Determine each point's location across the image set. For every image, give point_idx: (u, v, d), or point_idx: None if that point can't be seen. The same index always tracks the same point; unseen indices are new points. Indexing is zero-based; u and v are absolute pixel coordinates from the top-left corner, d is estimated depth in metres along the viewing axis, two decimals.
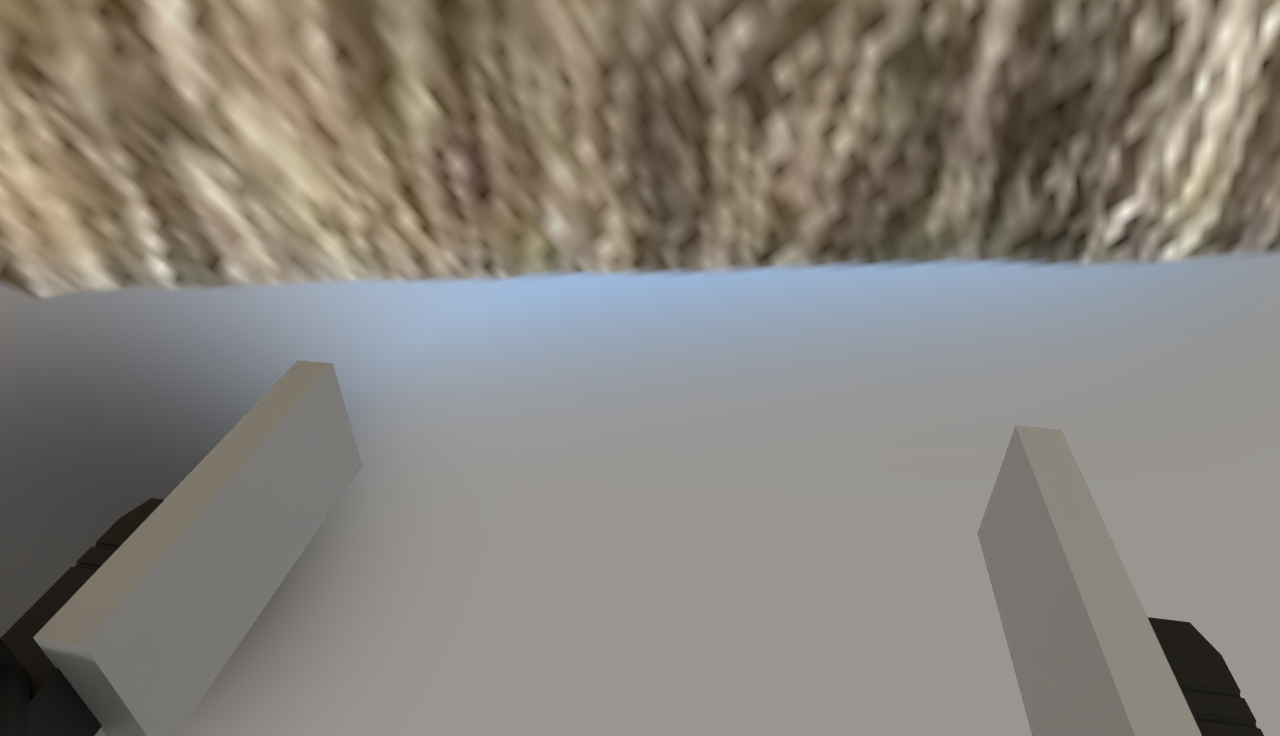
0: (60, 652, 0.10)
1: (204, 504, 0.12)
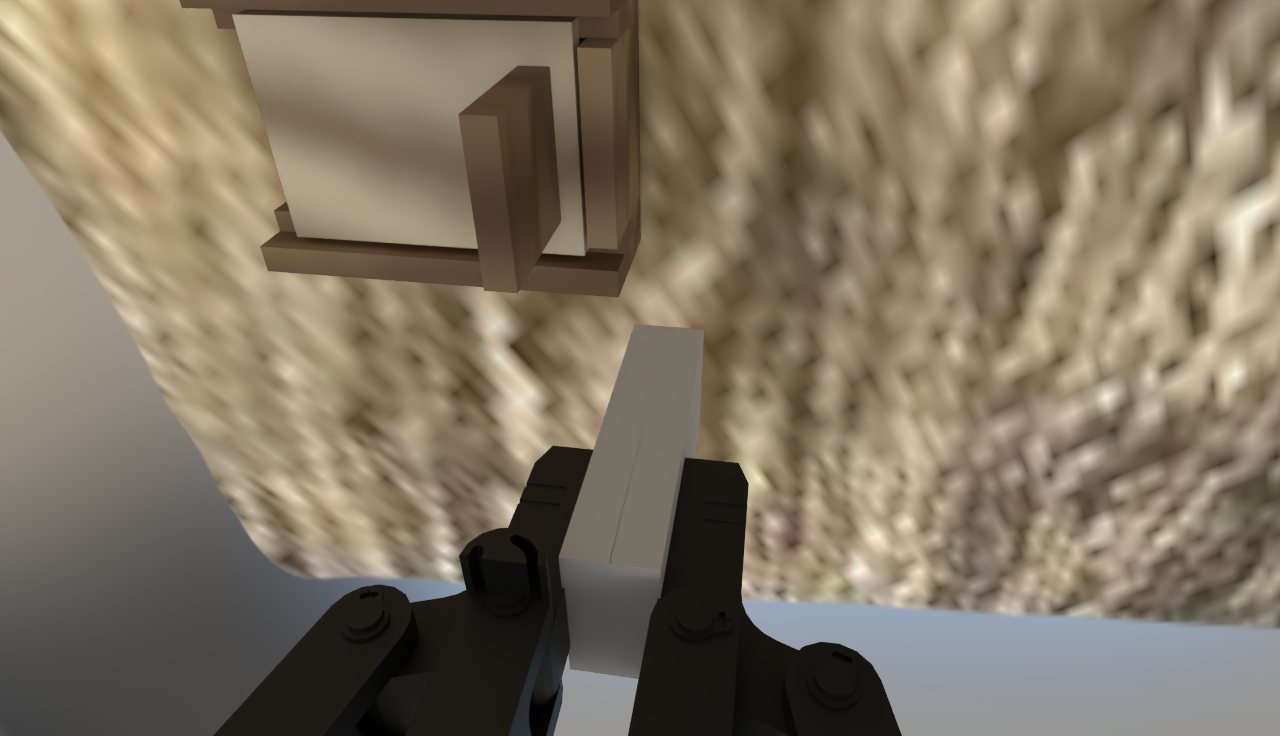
0: (578, 571, 0.11)
1: (634, 447, 0.13)
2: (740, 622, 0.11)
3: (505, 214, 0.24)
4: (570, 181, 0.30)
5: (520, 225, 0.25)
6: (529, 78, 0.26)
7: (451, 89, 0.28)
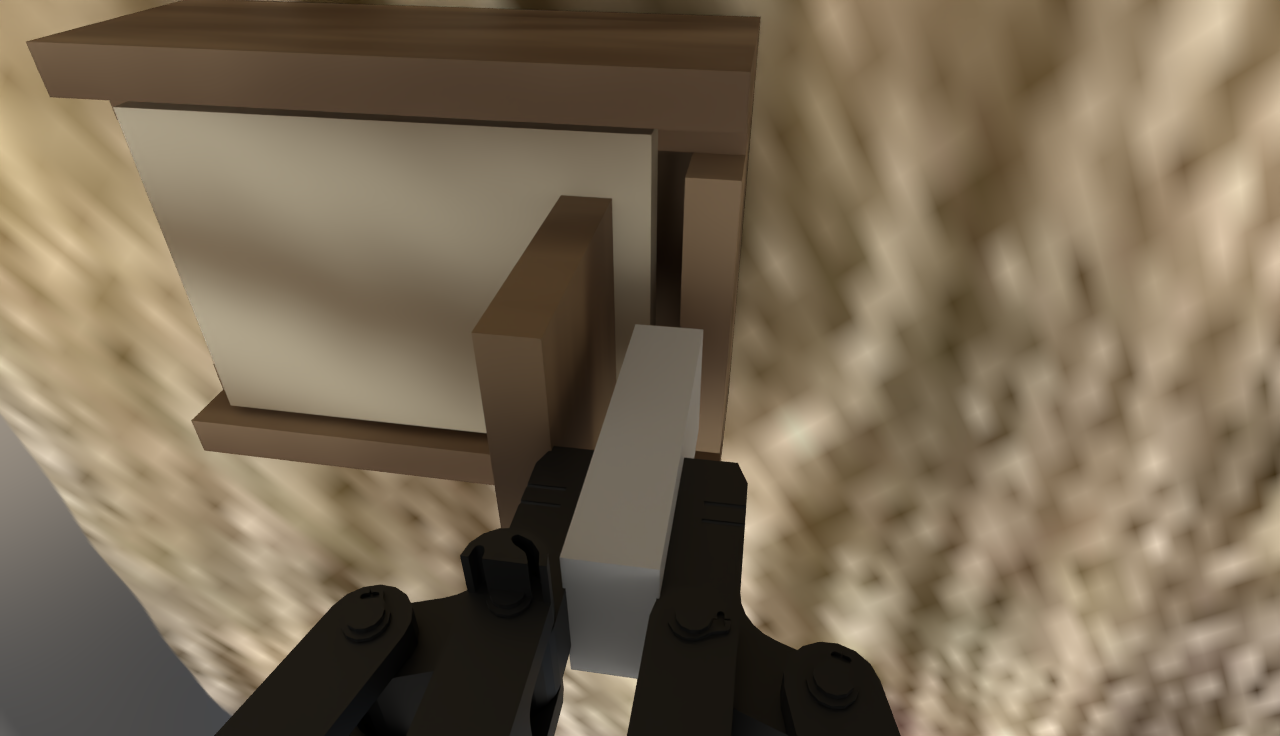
0: (579, 572, 0.11)
1: (635, 447, 0.13)
2: (739, 622, 0.11)
3: None
4: None
5: None
6: (584, 228, 0.16)
7: (455, 225, 0.18)
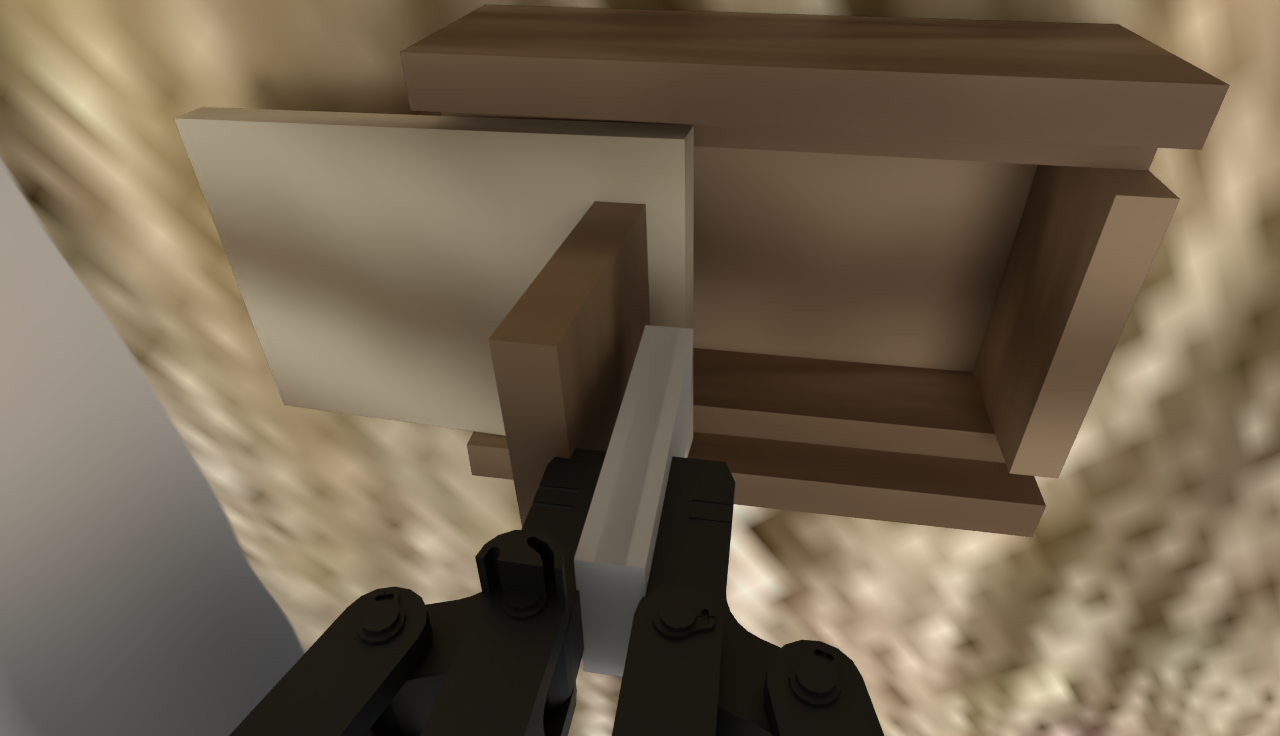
0: (593, 574, 0.11)
1: (647, 449, 0.13)
2: (724, 620, 0.11)
3: None
4: None
5: None
6: (614, 234, 0.16)
7: (491, 230, 0.18)
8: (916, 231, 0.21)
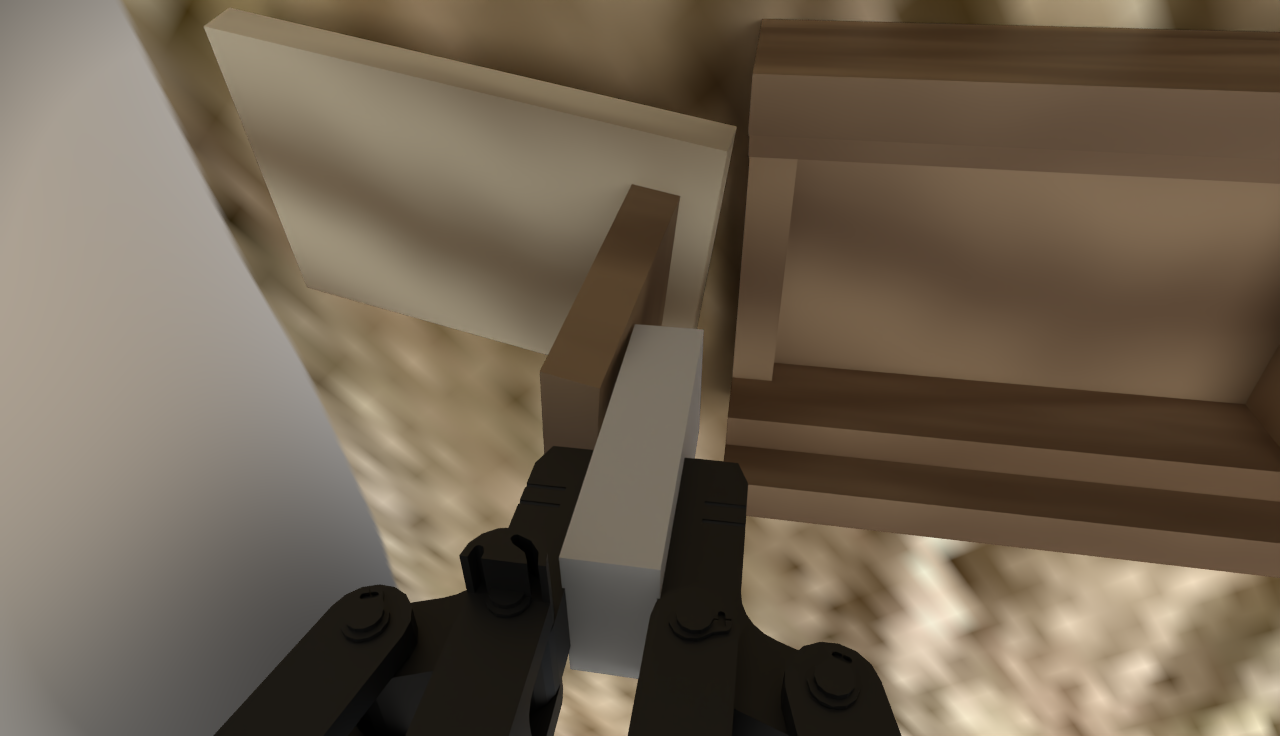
0: (578, 571, 0.11)
1: (634, 447, 0.13)
2: (739, 622, 0.11)
3: None
4: (679, 321, 0.21)
5: None
6: (649, 239, 0.17)
7: (527, 188, 0.19)
8: (1213, 257, 0.20)
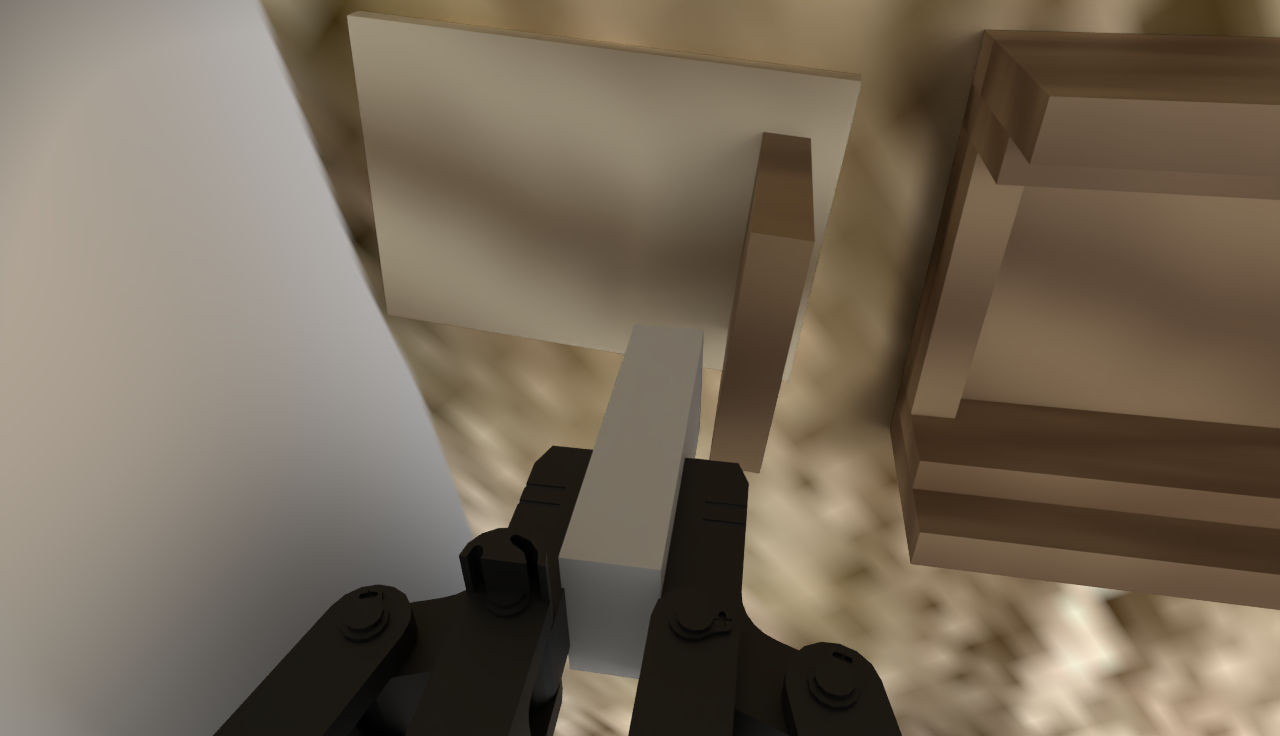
0: (578, 572, 0.11)
1: (634, 447, 0.13)
2: (740, 622, 0.11)
3: (777, 374, 0.16)
4: None
5: None
6: (800, 160, 0.18)
7: (654, 153, 0.20)
8: None
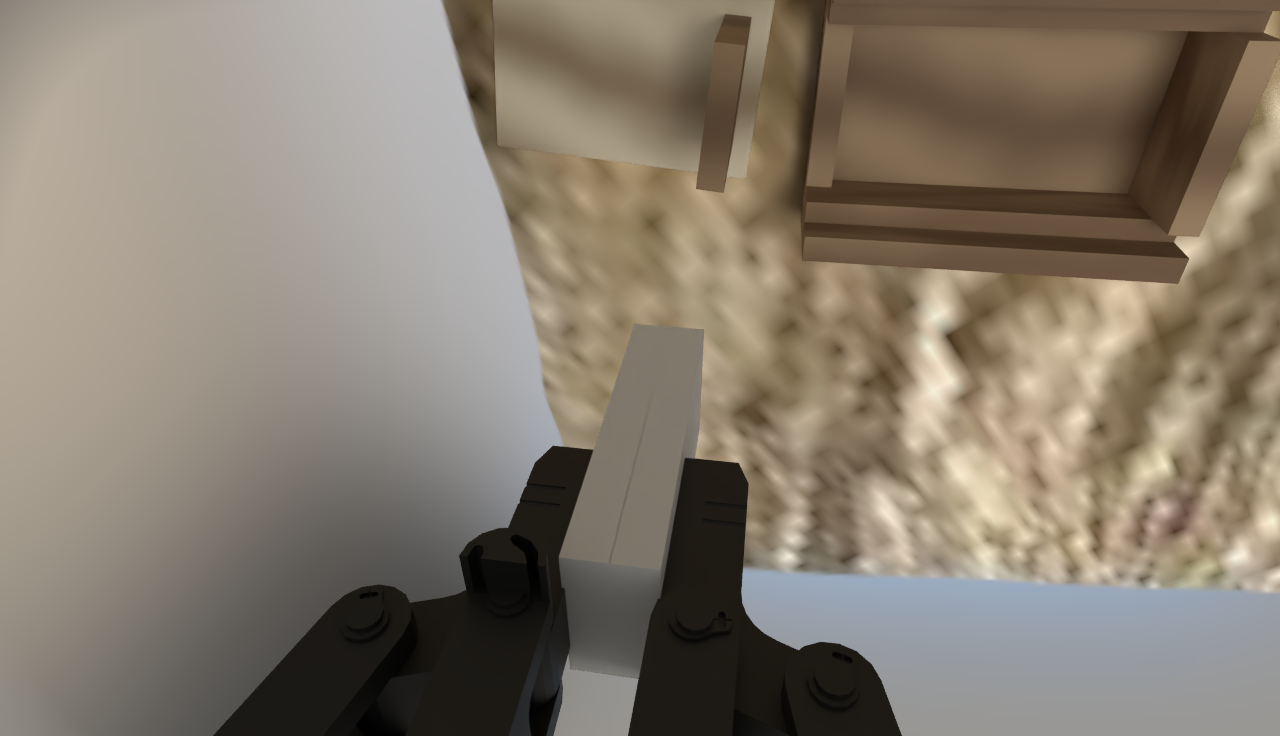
0: (578, 571, 0.11)
1: (634, 447, 0.13)
2: (740, 622, 0.11)
3: (730, 126, 0.31)
4: (747, 114, 0.36)
5: None
6: (744, 23, 0.33)
7: (664, 29, 0.35)
8: (1100, 92, 0.33)
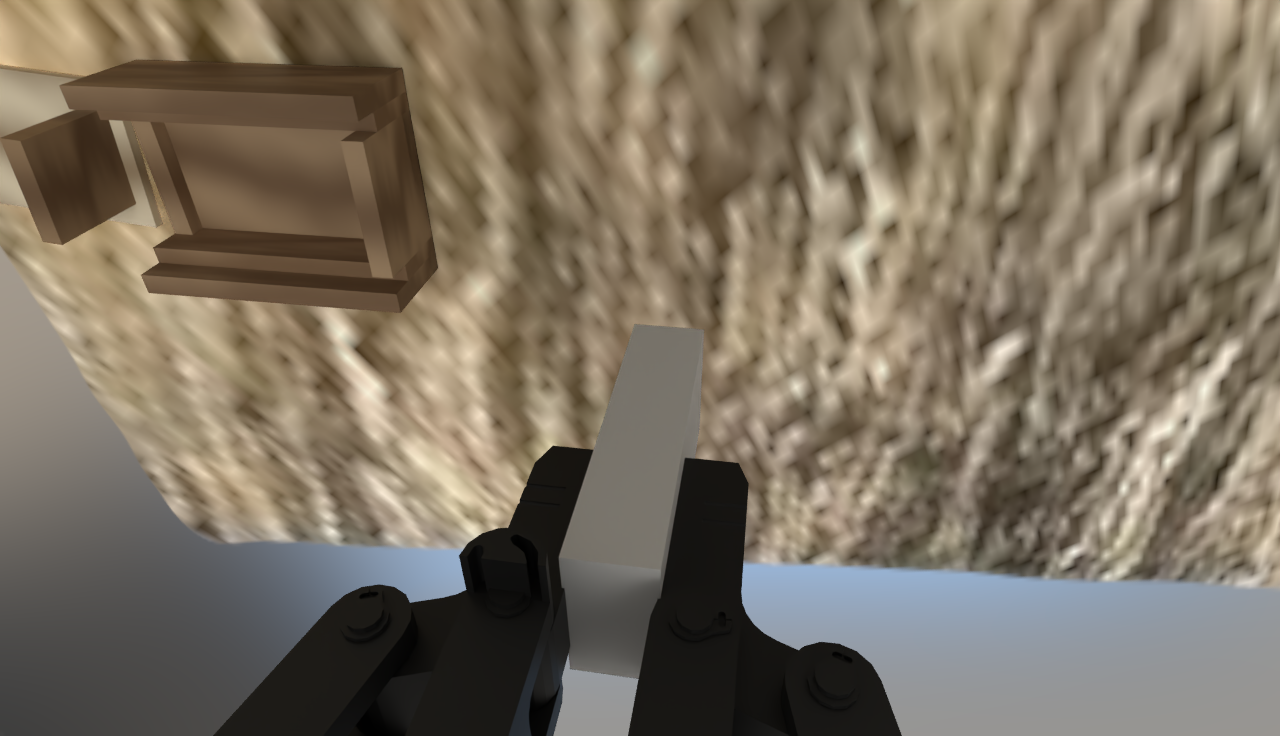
0: (578, 571, 0.11)
1: (634, 447, 0.13)
2: (740, 622, 0.11)
3: (41, 197, 0.41)
4: (135, 179, 0.47)
5: (62, 204, 0.43)
6: (78, 116, 0.43)
7: (50, 115, 0.45)
8: None
